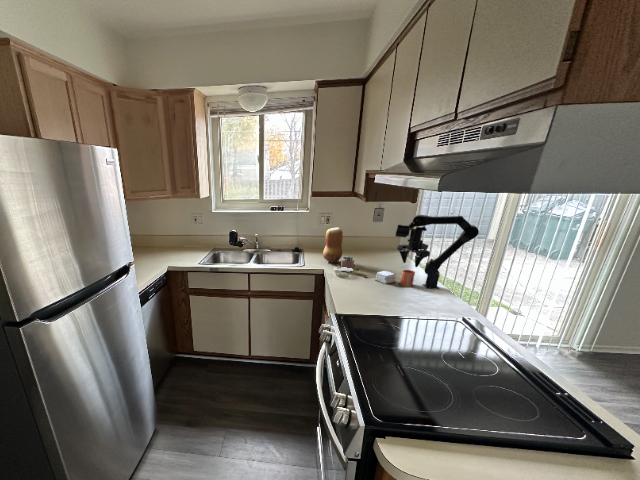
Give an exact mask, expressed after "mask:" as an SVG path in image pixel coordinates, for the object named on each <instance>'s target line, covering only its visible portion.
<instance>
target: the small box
mask: <svg viewBox="0 0 640 480" xmlns="http://www.w3.org/2000/svg"><path fill="white" fill-rule="evenodd" d="M396 277H397V274H396V273H394V272H391V271H388V270H383V271H378V272H376V277H375V281H378V282H380V283H383V284H385V285H387V284H392V283H395V281H396Z"/></svg>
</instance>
